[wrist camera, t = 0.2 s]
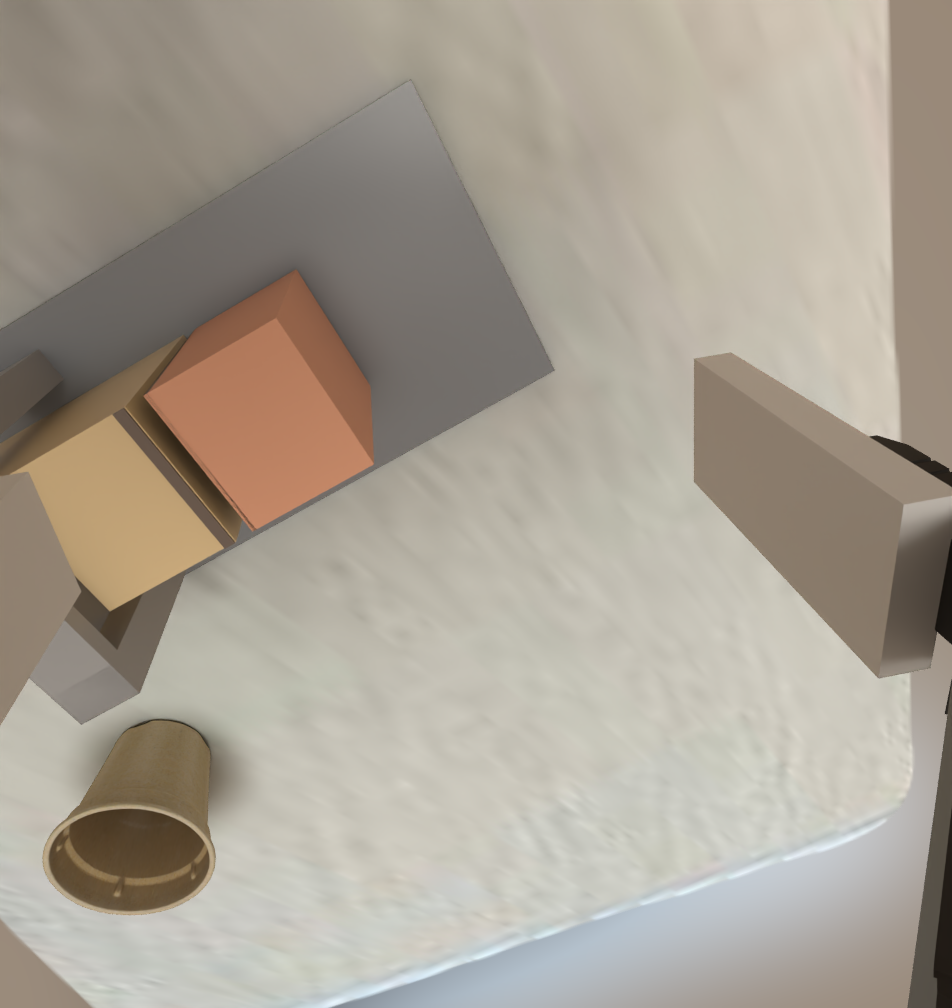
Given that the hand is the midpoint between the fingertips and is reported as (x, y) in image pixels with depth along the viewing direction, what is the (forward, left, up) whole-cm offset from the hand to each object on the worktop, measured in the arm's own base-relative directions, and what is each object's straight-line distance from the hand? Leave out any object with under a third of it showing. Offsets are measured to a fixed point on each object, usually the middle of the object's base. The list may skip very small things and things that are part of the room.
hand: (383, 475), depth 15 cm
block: (+2, -6, -26) cm, 27 cm away
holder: (+2, -10, -27) cm, 29 cm away
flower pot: (+21, -29, -27) cm, 45 cm away
